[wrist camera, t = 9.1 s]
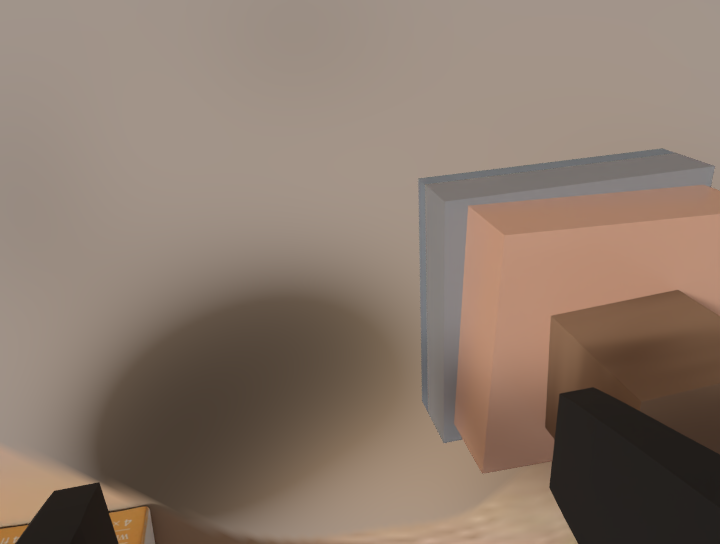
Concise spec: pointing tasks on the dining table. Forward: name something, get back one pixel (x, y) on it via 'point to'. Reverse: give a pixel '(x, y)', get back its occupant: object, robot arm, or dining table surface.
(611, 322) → the walnut cube
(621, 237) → the terracotta tile
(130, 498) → the dining table surface
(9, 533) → the small box
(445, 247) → the slate slab
